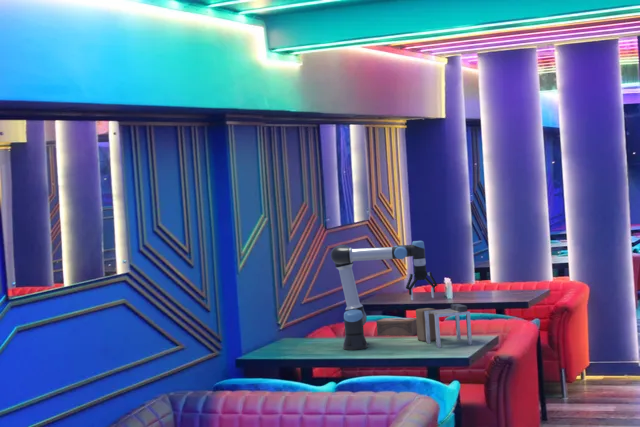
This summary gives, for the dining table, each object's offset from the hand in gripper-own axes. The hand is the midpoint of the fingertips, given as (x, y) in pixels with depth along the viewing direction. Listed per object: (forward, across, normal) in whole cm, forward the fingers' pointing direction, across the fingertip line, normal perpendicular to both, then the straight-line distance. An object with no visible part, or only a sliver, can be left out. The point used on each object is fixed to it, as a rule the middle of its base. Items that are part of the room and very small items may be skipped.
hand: (422, 298), depth 603 cm
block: (+28, +3, +6) cm, 28 cm away
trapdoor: (+8, +12, -15) cm, 21 cm away
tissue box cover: (+28, -6, +43) cm, 52 cm away
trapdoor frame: (+27, +10, -15) cm, 33 cm away
